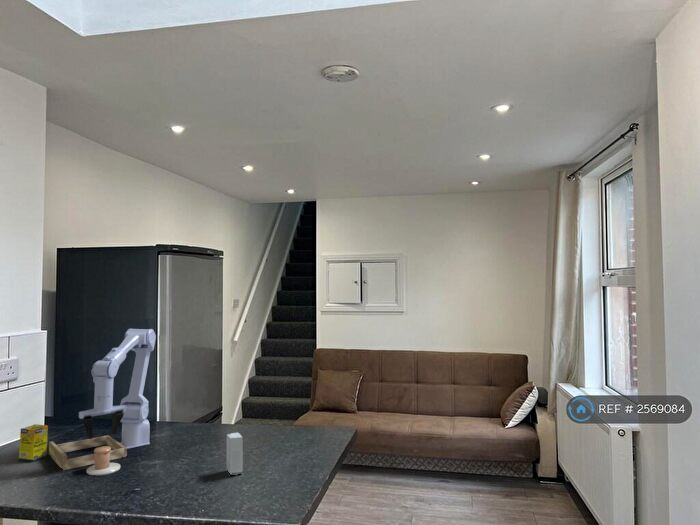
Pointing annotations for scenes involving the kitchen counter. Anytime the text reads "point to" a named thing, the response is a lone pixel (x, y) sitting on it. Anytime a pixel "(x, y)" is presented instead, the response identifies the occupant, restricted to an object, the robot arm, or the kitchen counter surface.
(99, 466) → the peach drawer knob
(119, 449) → the frame
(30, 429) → the supplement box
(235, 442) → the skincare box
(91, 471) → the saucer
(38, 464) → the kitchen counter surface
